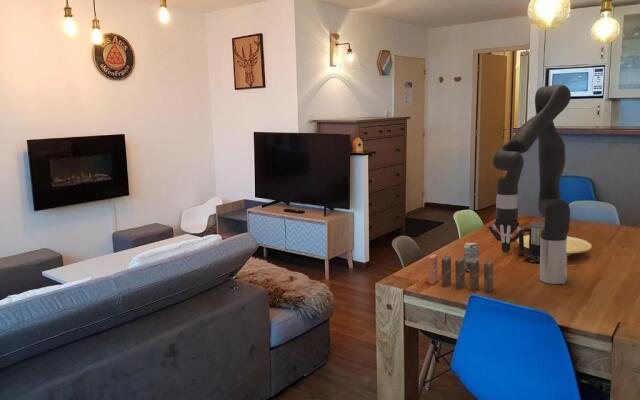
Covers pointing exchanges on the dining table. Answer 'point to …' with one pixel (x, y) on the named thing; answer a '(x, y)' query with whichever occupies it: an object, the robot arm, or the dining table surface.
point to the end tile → (433, 268)
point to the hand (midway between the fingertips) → (506, 252)
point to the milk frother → (532, 240)
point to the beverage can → (470, 254)
